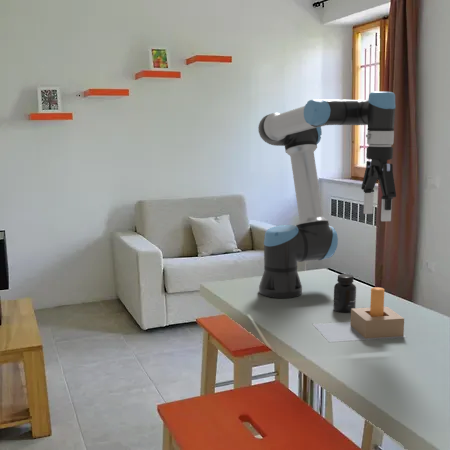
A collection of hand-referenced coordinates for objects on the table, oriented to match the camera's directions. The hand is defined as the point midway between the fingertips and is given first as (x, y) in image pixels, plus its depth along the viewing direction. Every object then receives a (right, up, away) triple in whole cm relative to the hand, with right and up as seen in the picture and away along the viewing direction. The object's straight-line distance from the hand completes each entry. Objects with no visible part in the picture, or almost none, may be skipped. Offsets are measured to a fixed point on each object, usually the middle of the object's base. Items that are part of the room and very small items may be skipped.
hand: (376, 217), depth 177 cm
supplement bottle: (-8, -30, +9) cm, 32 cm away
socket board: (-8, -33, -10) cm, 35 cm away
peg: (-3, -32, -10) cm, 34 cm away
